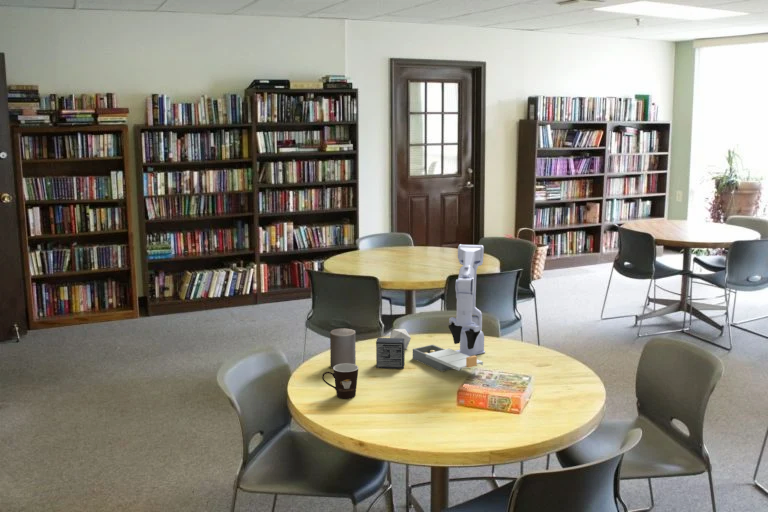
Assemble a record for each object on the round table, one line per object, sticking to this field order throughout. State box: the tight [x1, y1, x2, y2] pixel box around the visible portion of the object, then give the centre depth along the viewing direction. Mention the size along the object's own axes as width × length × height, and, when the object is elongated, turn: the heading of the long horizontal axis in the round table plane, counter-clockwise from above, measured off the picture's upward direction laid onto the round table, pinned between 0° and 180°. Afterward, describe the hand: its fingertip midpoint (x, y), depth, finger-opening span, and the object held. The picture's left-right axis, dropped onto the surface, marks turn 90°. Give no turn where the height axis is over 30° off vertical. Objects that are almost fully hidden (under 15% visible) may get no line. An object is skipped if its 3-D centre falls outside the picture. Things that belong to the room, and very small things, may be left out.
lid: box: [426, 348, 484, 371], centre depth 282 cm, size 12×20×4 cm, turn 35°
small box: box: [375, 337, 406, 370], centre depth 287 cm, size 11×6×10 cm, turn 84°
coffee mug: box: [321, 364, 359, 400], centre depth 257 cm, size 12×9×10 cm
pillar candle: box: [329, 327, 357, 370], centre depth 286 cm, size 10×10×15 cm
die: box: [389, 328, 412, 350], centre depth 309 cm, size 8×9×10 cm
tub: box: [412, 344, 454, 372], centre depth 291 cm, size 10×18×4 cm, turn 35°
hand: (463, 346), depth 278 cm, fingers open, 7 cm apart
